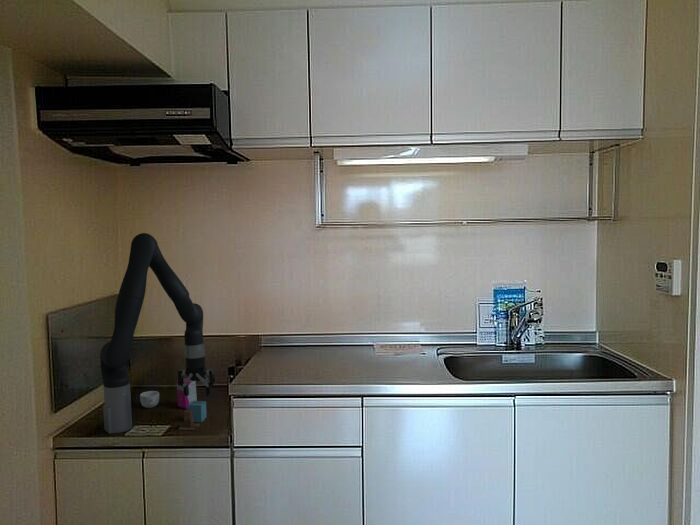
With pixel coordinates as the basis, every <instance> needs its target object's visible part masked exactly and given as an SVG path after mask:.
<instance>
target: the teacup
mask: <svg viewBox="0 0 700 525" xmlns="http://www.w3.org/2000/svg"><path fill="white" fill-rule="evenodd" d="M139 401H140V404H141V406H142V407H144V408H145V409H150V408H155V407H156V406H157V405H158V404H159V402H160V392H159V391H156V390H148V391H143V392H141V393H140V394H139Z"/></svg>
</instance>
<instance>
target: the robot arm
mask: <svg viewBox="0 0 700 525" xmlns="http://www.w3.org/2000/svg"><path fill="white" fill-rule="evenodd" d="M129 251H130V252H129V256H128V263H127V267H126V271H125V274H124V276H123V278H122V281H121V284H120V287H119V291H118V294H117V299H116V302H115V306H114V307H115V308H114V327H113V333H112V335H111V336H112V337H111V339H110V341H108V342H106V343H105V344H104V345H103V346H102V348H101V349H100V354H99V355H100V356H99V360H100V371H101V372H100V373H101V378H102V383H103V400H104V404H103V405H102V411H103V424H104V425H103V427H104V430H105V432H107V434H119V433H125V432H127V431H130V430H131V429H132V428H133V419H132V418H133V416H132V400H131V395H132V394H131V380H130V378H131V377H130V375H129V371H128V366H127V364H128V363H129V361H130V359H131V354H132V346H133V341H134V337H135V335H134V334H135V331H136V328H137V324H138V321H139V318H140V315H141V312H142V307H143V304H144V299H145V295H146V290H147V279H148V278H147V277H148V271H149V268H150V270H151V271H152V272H153V274H154V275H155V277H156V279H157V281H158V282H159V284H160V286H161V287H162V288H163V290H164V292H165V294H167V296H168V298H169V299H170V300H171V302H172V303H173V304H174V306H175V309H176V311H177V313H178V315H179V317H180V319H181V320H182V321H184V322H185V330H184V334H183V335H184V337H183V338H184V360H185V369H183V368H181V369H179V370H178V371H177V381H178V385H179V386H180V385H181V386H183V390H184V395H185V396H188V395H189V386H188V383H189V382H190V381H196V382H201V383H202V384H204V386H205V397H209V396H210V395H211V393H212V386H214V385H215V384H216V378H215V377H216V376H215V369H214V368H210V369H207V368H206V364H207V363H206V352H205V351H206V350H205V345H204V344H205V343H204V334H203V333H204V331H203V329H204V328H203V327H204V310H203V307H201V305H200V304H198V303H194V302H193V301H192V299H191V297H190V292H189V291H188V289H187V287H186V286H185V285H184V284H183V282H182V281H181V279H180V278H179V276H178V275H177V274H176V273H175V272H174V270H173V269H172V268H171V266H170V265H169V263H168V262H167V260H166V258H165V256H164V255H163V254H162V251H161V249H160V247H159V245H158V241H157V240H156V238H155V237H154V236H153V235H151V234H150V233H146V232H141V233H139V234H137V235H135V236H134V237H133V238H132V240H131V243H130V250H129ZM184 375H186V376H187V377H186V378H187V379H186V380H185V382H183V379H184ZM207 375H208V376H207ZM208 377H209V378H208Z"/></svg>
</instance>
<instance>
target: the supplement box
mask: <svg viewBox="0 0 700 525" xmlns="http://www.w3.org/2000/svg"><path fill="white" fill-rule="evenodd" d="M187 378H188V377H186V378H185V377H184V378H183V382H185V380H186V379H187ZM196 382H197V381H190V382H189V383H188V386H189V395H188V396H185V395H184V390H183V386H181V385H180V386H179V385H178V380H176V394H177V407H178V408H180V409H183V410H188V405H189V404H190V403H191V402H193V401H198V399H197V398H198V397H197V386H196V385H197V383H196Z"/></svg>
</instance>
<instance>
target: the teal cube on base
mask: <svg viewBox="0 0 700 525" xmlns="http://www.w3.org/2000/svg"><path fill="white" fill-rule="evenodd" d="M187 410H193V421H194V423H202V422H204V421H205V420H206V419H207V415H208V414H207V401H206V400H197V401H193V402H191V403H190V404H189V405H188V409H187ZM205 418H206V419H205Z"/></svg>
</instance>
